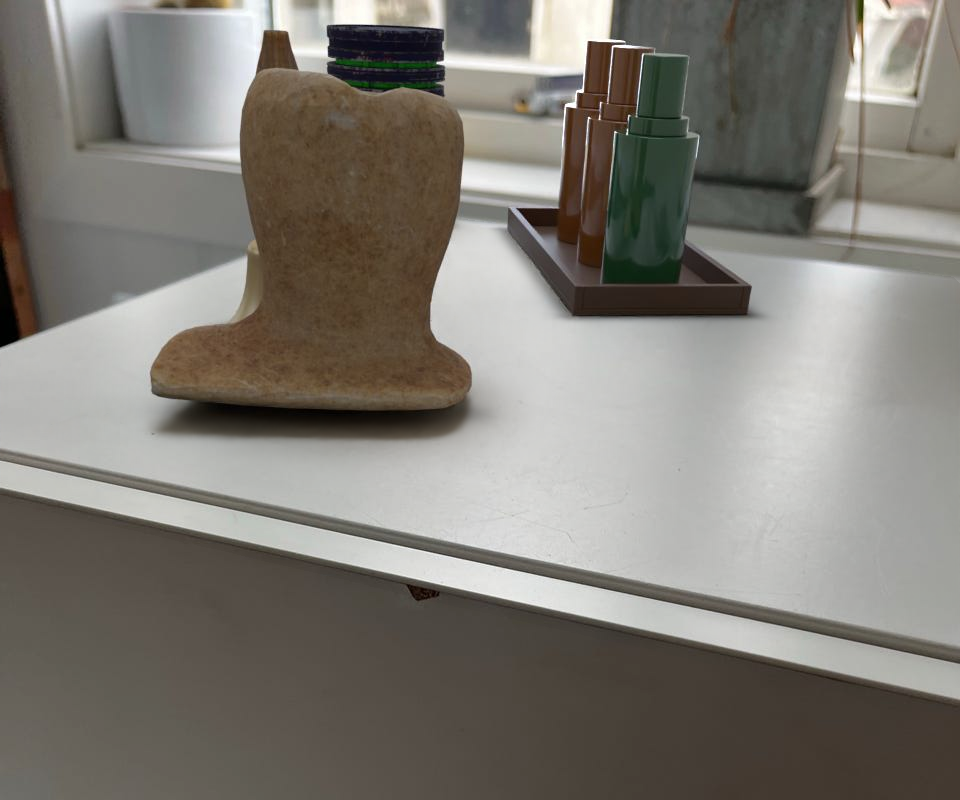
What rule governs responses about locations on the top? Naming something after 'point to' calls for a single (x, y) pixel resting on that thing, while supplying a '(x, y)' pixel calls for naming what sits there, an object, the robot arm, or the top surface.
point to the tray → (582, 293)
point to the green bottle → (651, 180)
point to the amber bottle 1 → (581, 135)
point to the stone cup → (336, 254)
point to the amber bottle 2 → (606, 149)
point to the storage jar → (387, 57)
